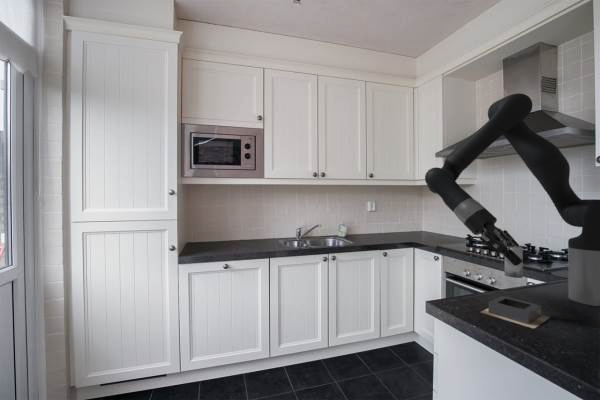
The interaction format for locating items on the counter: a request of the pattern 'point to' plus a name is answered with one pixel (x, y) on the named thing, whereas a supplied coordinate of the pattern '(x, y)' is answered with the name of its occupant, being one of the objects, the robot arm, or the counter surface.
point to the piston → (512, 269)
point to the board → (532, 325)
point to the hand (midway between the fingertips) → (522, 262)
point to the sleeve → (515, 309)
